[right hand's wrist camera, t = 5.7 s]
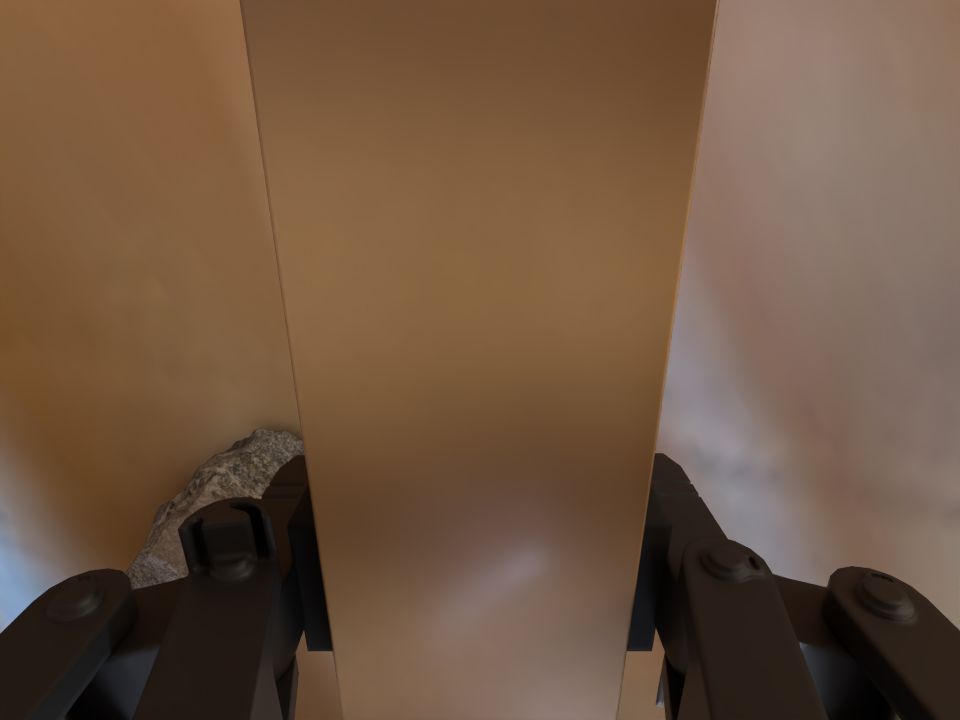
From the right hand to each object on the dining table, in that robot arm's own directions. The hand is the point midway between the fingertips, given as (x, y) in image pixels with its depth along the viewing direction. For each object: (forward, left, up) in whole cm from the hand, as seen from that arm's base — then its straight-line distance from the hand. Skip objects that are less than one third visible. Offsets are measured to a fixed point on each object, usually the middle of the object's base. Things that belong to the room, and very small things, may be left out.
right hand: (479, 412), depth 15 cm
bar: (+4, +6, -1) cm, 8 cm away
